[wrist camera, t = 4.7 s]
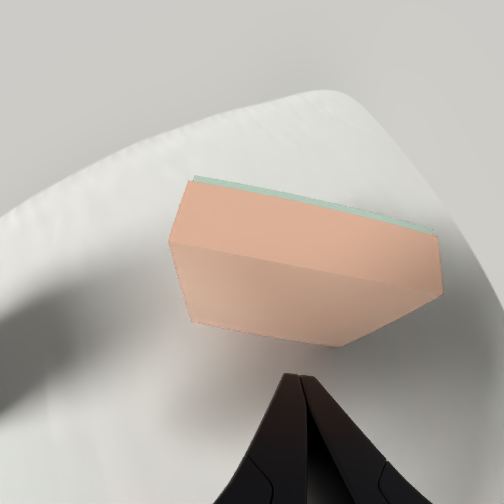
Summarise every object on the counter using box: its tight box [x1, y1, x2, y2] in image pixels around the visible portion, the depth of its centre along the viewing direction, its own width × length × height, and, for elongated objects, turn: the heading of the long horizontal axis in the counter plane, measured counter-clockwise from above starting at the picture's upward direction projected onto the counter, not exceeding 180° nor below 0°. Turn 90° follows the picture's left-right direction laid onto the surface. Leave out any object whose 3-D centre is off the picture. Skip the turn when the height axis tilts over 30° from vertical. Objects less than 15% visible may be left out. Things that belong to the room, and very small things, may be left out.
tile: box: [168, 176, 443, 347], centre depth 13 cm, size 2×8×9 cm, turn 81°
